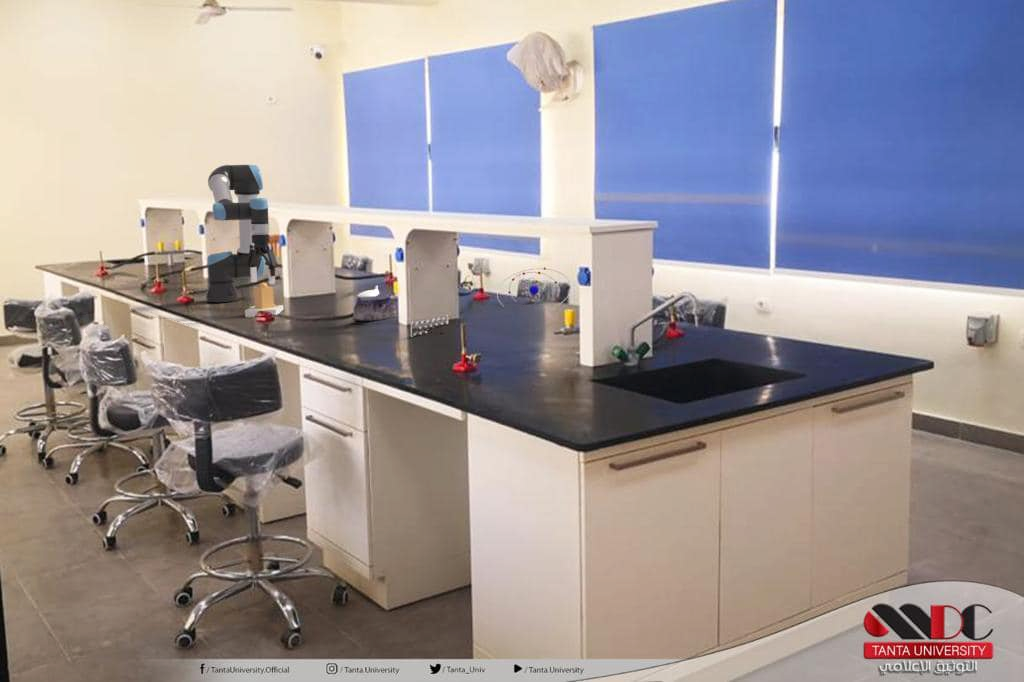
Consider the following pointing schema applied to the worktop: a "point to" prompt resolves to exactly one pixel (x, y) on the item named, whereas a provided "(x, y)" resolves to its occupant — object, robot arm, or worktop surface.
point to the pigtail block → (253, 311)
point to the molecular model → (427, 325)
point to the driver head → (369, 293)
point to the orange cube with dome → (263, 296)
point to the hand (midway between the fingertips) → (263, 283)
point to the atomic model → (533, 289)
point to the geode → (374, 309)
